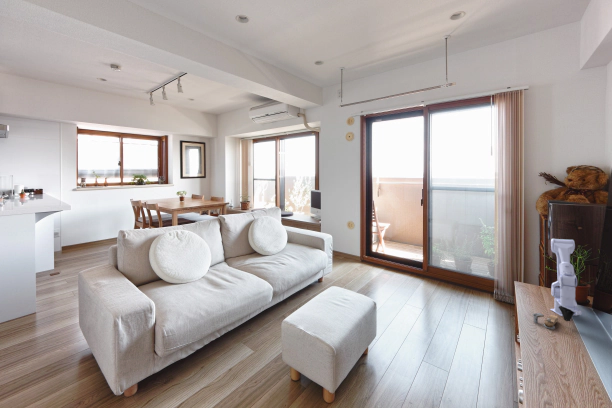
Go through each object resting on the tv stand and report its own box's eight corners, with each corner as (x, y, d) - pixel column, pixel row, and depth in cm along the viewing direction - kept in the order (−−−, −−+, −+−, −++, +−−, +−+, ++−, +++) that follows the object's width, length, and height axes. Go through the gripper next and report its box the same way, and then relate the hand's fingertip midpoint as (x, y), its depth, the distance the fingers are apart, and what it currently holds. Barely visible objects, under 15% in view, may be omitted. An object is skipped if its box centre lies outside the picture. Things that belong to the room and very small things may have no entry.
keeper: (543, 322, 150) (543, 315, 149) (536, 323, 150) (536, 315, 149) (539, 320, 152) (539, 312, 152) (532, 321, 152) (532, 313, 152)
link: (552, 327, 143) (552, 321, 143) (543, 325, 146) (543, 318, 146) (558, 320, 149) (558, 313, 149) (550, 317, 152) (550, 311, 152)
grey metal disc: (549, 324, 148) (549, 323, 148) (557, 329, 143) (557, 327, 143) (540, 324, 148) (540, 323, 148) (548, 329, 144) (548, 328, 143)
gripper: (588, 303, 136) (587, 328, 138) (564, 290, 150) (564, 313, 152) (572, 303, 137) (572, 328, 138) (550, 291, 151) (550, 313, 153)
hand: (567, 320), depth 145 cm, fingers closed
